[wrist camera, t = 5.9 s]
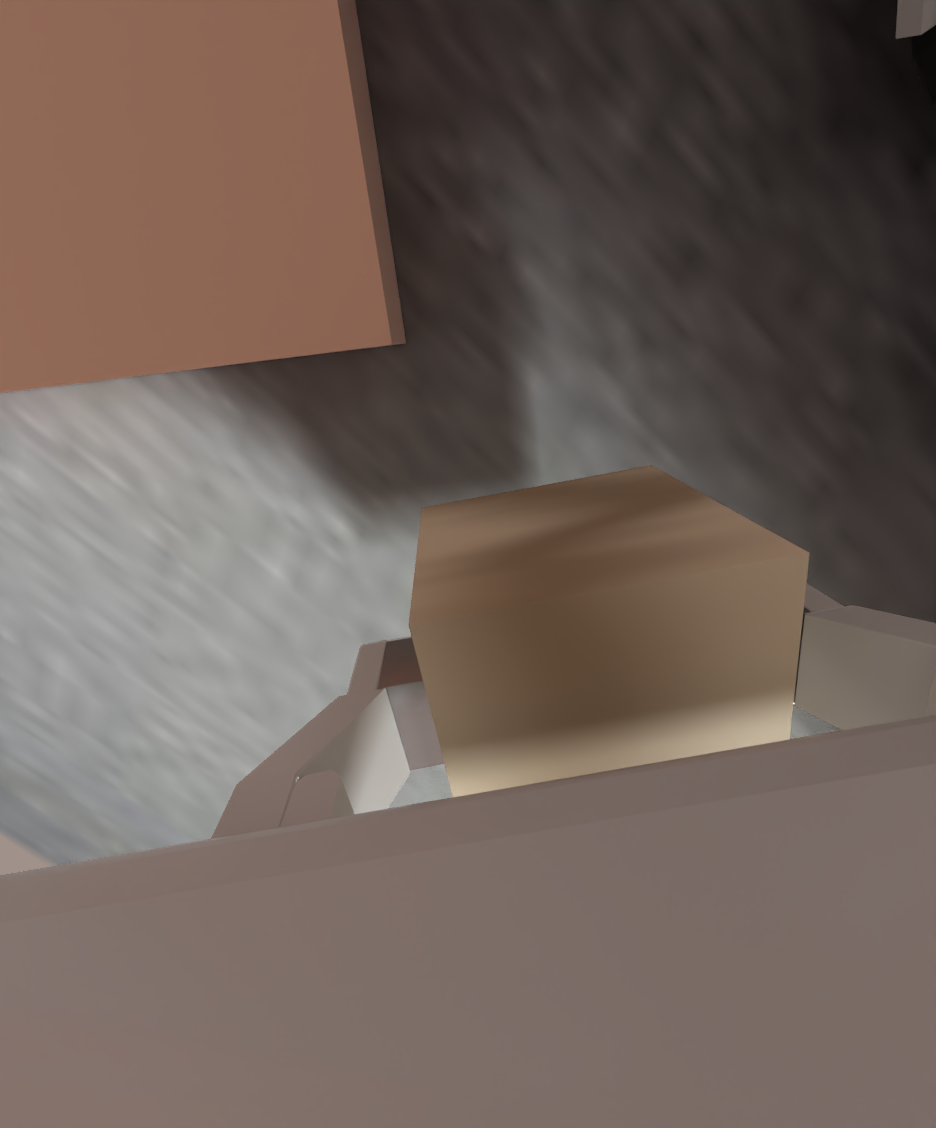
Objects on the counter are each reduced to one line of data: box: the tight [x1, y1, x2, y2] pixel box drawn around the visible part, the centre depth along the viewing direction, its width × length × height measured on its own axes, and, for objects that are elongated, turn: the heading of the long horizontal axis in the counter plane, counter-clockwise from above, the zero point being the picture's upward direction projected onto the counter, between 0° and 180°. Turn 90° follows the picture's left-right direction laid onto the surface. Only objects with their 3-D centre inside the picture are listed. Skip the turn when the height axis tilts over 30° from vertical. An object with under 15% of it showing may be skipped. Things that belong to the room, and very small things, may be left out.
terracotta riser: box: [0, 0, 406, 393], centre depth 9 cm, size 12×12×4 cm
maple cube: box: [409, 465, 810, 797], centre depth 9 cm, size 5×5×5 cm
